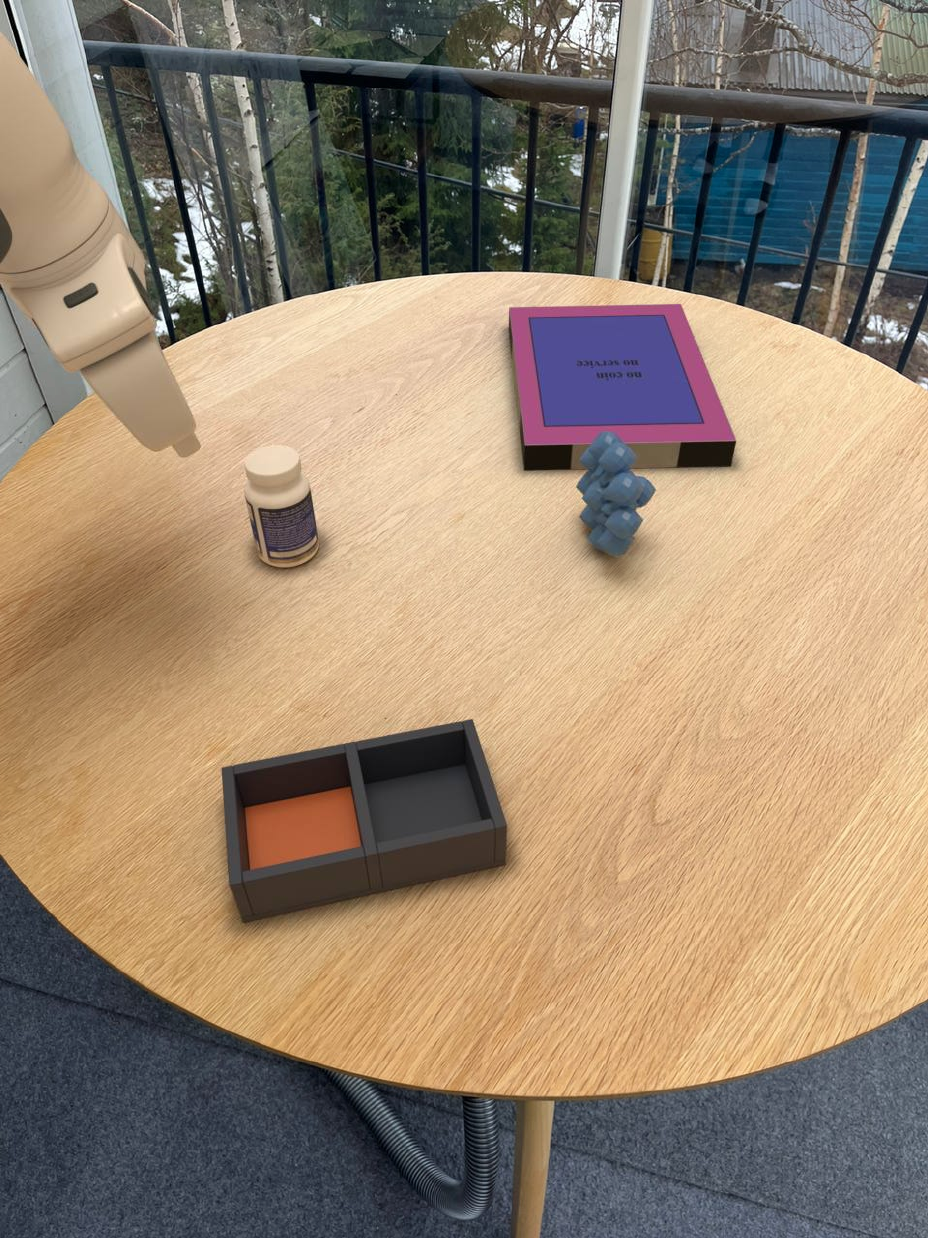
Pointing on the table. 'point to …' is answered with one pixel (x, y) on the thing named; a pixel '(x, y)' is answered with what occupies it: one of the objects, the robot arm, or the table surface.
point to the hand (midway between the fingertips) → (173, 412)
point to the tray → (360, 819)
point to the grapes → (612, 494)
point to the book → (614, 386)
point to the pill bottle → (280, 506)
